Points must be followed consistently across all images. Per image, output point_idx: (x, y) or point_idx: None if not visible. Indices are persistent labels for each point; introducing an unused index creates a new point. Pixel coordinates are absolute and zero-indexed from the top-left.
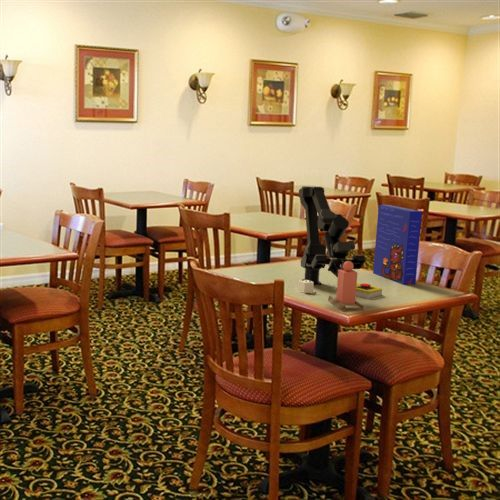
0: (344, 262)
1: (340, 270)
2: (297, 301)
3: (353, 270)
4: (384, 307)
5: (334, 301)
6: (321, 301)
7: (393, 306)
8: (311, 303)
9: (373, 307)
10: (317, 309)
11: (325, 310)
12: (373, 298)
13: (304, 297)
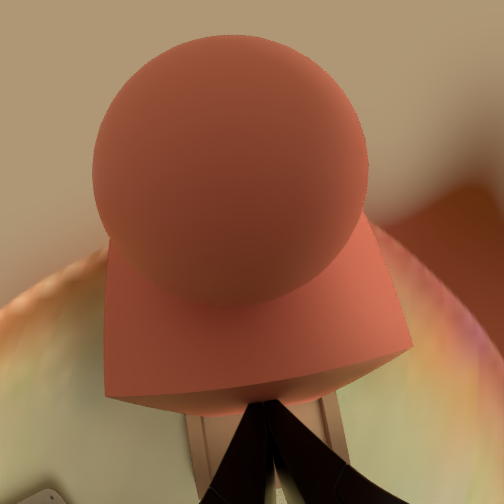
0: (348, 107)
1: (378, 265)
2: (501, 399)
3: (106, 305)
4: (49, 332)
5: None
6: (390, 444)
7: (10, 347)
8: (447, 380)
9: (98, 333)
10: (418, 266)
11: (382, 254)
12: (42, 500)
13: (462, 499)
